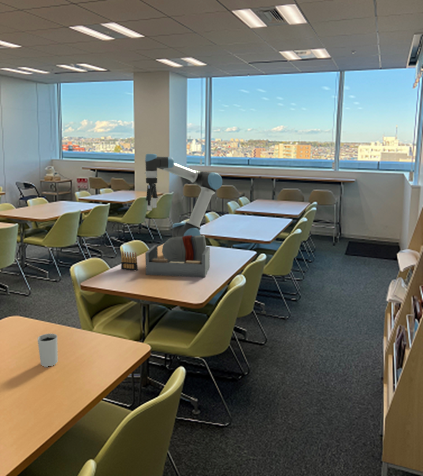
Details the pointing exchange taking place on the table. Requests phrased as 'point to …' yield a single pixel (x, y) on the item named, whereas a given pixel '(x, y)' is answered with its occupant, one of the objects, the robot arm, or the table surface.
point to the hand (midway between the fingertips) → (152, 209)
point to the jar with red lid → (184, 248)
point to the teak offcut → (194, 262)
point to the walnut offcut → (160, 260)
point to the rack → (176, 265)
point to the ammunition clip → (129, 261)
